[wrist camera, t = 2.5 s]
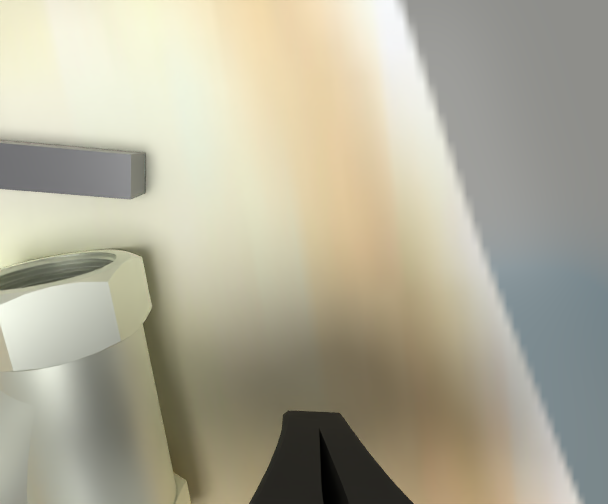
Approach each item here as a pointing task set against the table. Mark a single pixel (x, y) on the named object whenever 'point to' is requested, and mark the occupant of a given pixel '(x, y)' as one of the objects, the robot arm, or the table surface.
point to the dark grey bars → (71, 170)
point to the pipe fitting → (80, 385)
